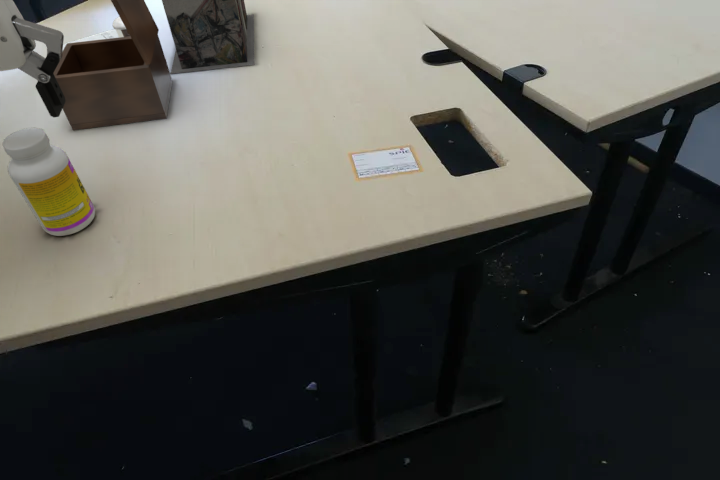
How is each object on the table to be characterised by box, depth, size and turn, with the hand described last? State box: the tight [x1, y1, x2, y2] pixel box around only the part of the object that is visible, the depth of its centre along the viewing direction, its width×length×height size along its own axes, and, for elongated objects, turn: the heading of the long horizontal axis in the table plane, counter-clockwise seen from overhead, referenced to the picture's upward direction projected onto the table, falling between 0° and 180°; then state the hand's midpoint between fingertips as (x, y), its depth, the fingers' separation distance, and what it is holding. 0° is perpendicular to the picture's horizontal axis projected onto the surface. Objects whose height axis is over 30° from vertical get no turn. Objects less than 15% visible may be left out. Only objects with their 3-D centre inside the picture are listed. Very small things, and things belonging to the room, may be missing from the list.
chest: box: [53, 34, 174, 131], centre depth 89 cm, size 15×13×9 cm
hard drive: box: [62, 28, 118, 52], centre depth 108 cm, size 2×8×12 cm
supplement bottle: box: [1, 127, 96, 237], centre depth 66 cm, size 7×7×13 cm
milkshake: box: [112, 15, 130, 38], centre depth 99 cm, size 4×5×10 cm
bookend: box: [161, 0, 256, 75], centre depth 103 cm, size 16×25×16 cm, turn 9°
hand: (13, 117), depth 59 cm, fingers open, 9 cm apart
